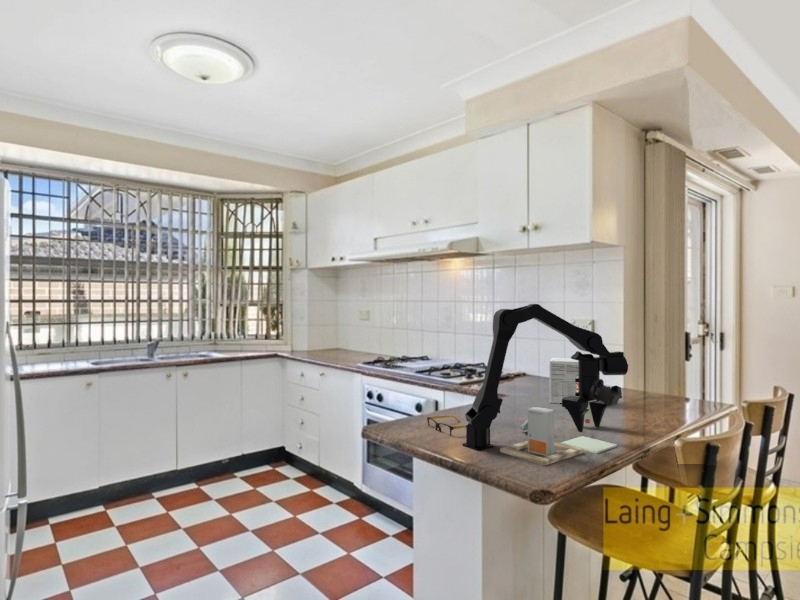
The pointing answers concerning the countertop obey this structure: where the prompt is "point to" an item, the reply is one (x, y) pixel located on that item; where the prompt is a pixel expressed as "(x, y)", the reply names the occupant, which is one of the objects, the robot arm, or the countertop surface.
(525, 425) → the pacifier
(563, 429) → the countertop surface
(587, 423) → the aerosol can
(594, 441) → the sage mat
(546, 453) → the skincare box
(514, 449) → the wooden frame
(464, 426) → the eyeglasses
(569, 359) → the supplement box
